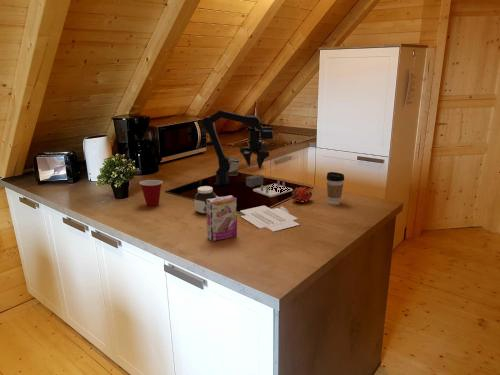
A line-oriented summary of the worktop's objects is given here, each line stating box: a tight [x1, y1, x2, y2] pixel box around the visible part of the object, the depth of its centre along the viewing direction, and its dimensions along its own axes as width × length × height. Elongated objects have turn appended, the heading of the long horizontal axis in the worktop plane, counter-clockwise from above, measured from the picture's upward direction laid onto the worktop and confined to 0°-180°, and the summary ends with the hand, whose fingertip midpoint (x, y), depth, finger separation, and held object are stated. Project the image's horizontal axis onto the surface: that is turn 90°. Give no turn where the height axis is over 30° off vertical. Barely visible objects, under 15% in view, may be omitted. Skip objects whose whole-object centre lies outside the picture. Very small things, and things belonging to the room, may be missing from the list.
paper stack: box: [239, 205, 301, 233], centre depth 177 cm, size 20×28×4 cm
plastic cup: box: [139, 179, 164, 208], centre depth 193 cm, size 11×11×12 cm
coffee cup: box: [326, 171, 345, 206], centre depth 193 cm, size 8×8×15 cm
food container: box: [227, 157, 240, 177], centre depth 246 cm, size 12×6×10 cm, turn 84°
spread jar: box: [194, 185, 219, 216], centre depth 185 cm, size 12×11×12 cm
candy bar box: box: [206, 194, 238, 243], centre depth 156 cm, size 11×5×16 cm, turn 118°
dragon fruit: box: [291, 186, 313, 204], centre depth 196 cm, size 8×8×12 cm
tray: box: [252, 180, 294, 198], centre depth 214 cm, size 16×14×4 cm
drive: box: [245, 174, 264, 188], centre depth 225 cm, size 9×4×5 cm, turn 133°
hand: (254, 167), depth 222 cm, fingers open, 9 cm apart
